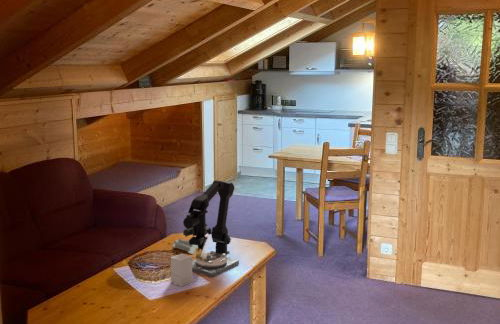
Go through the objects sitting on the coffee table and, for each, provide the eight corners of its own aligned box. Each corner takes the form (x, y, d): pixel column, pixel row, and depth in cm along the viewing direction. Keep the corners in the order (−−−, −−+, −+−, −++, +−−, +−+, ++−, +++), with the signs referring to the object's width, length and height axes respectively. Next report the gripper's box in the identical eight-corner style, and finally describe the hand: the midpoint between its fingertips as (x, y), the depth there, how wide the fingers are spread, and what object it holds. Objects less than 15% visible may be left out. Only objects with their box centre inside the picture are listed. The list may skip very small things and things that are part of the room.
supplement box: (192, 282, 252) (192, 256, 250) (180, 286, 247) (180, 260, 245) (182, 277, 257) (182, 252, 255) (170, 282, 252) (170, 256, 250)
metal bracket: (171, 243, 290) (177, 235, 304) (168, 253, 291) (174, 244, 305) (196, 252, 289) (201, 243, 304) (193, 261, 290) (198, 252, 305)
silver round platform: (227, 256, 280) (227, 243, 279) (226, 267, 265) (226, 254, 263) (196, 256, 280) (196, 243, 279) (194, 267, 264) (194, 254, 263)
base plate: (210, 256, 287) (210, 252, 287) (238, 263, 277) (238, 259, 276) (182, 268, 269) (182, 264, 269) (212, 277, 259) (212, 272, 258)
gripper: (191, 216, 282) (191, 244, 285) (178, 227, 264) (179, 257, 267) (211, 217, 279) (211, 245, 282) (199, 229, 261) (200, 259, 265)
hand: (200, 251), depth 274 cm, fingers closed
